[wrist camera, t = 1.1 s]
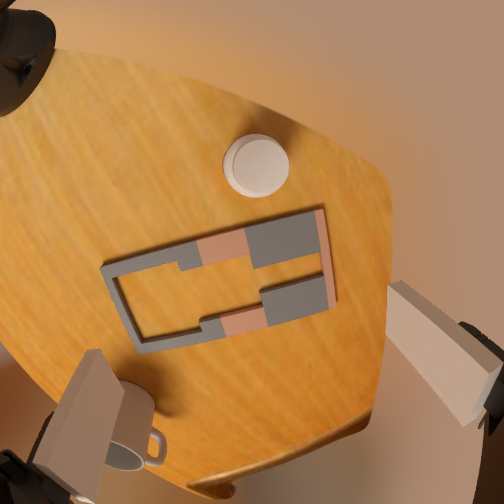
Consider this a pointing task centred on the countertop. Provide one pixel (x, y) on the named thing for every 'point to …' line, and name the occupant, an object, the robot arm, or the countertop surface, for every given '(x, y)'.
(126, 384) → the mug
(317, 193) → the countertop surface
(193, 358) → the countertop surface
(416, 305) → the robot arm
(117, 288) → the keyhole board
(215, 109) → the countertop surface
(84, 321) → the countertop surface
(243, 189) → the pill bottle
